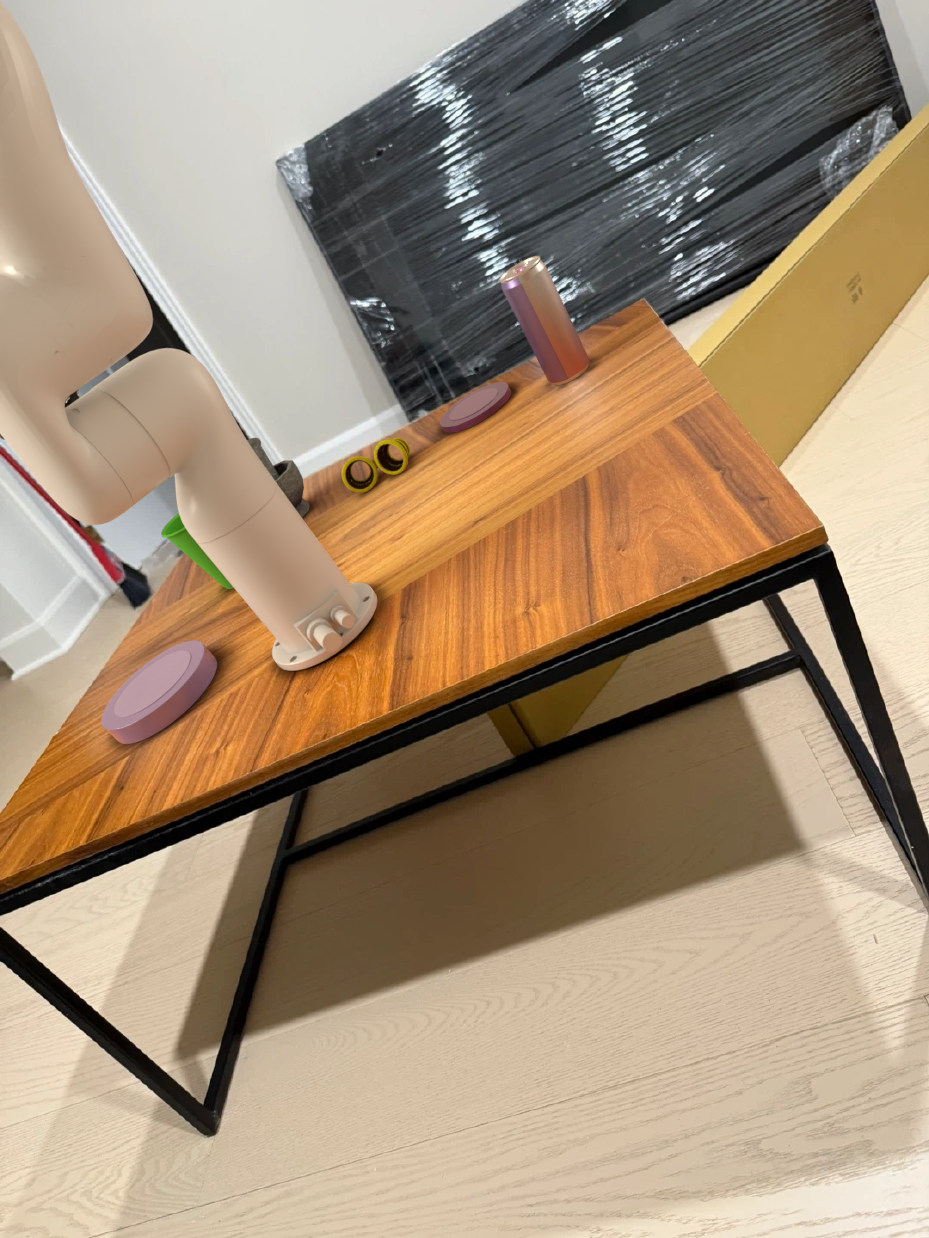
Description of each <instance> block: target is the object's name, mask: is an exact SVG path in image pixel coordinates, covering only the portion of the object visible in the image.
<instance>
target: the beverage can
mask: <svg viewBox="0 0 929 1238" xmlns="http://www.w3.org/2000/svg"><path fill="white" fill-rule="evenodd" d="M498 281H499V283H500V285H501V290H502V292H503V294H504V296H505V298H506V300H507V302H508V303H509V304H508V305H509V306H510V309H511V310H512V312H513V314H514V316H515V319H516V320H517V322H518V324H519V326H520V328H521V331H522V333H523V334H524V336H525V338H526V340H527V342H528V344H529V347H530V348H531V350H532V352H533V354H534V356H535V358H536V360H537V362H538V364H539V366H540V368H541V369H542V372H543V374H544V376H545V378H546V380H547V381H548V383H550V384H552V385H554V386H562V385H566V384H568V383H570V382H572V381H574V380H575V379H577V378H579V377H580V376H581V375H583V374H584V373H585V372H586V371H587V370H588V369H589V366H590V358H589V355H588V352H587V351H586V349H585V347H584V345H583V342H582V340H581V338H580V336H579V334H578V331H577V329H576V327H575V325H574V323H573V321H572V318H571V317H570V314H569V312H568V311H567V307H566V306H565V304H564V301H563V299H562V298H561V295H560V293H559V291H558V289H557V287H556V284H555V282H554V280H553V278H552V276H551V274H550V272H549V270H548V267H547V266H546V263H545V262H543V261H542V259H541V256H539V255H534V256H530V257H528V258H526V259H523V260H522V261H520V262H518V263H516V264H515V265H513V266H512V267H511V268H509V269H508V270H506V271H505V272H504V273H503V274H501V276H500V277H499V279H498Z"/></svg>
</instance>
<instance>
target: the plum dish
mask: <svg viewBox="0 0 929 1238" xmlns="http://www.w3.org/2000/svg"><path fill="white" fill-rule="evenodd" d="M511 395H512V390H511V388H510V385H508V383H507V382H505V381H498V382H492V383H489V384H486V385H483V386H482V387H480V388H478V389H475V390H474V391H472V392H470V393H468V394H466V395H465V396H463V397H462V398H461V399H459V400H457V401H456V402H455V403H453V404H452V405H451V406H450V407H449V408H448V409H447V410H446V411H445V412H444V414H443V415H442V416H441V417H440V420H439V426H440V428H441V429H442V430H443V432H444V433H447V434H454V433H458V432H462V431H464V430H467V429H470V428H472V427H474V426H476V425H479V424H480V423H481V422H483V421H485V420H486V419H488V418H489V417H491V416H493V415H494V414H495V413H496V412H497V411H499V410H500V409H502V407H503V406H504V405H505V404H506V403H507V402H508V401H509V399H510V397H511Z"/></svg>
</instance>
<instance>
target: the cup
mask: <svg viewBox="0 0 929 1238" xmlns="http://www.w3.org/2000/svg"><path fill="white" fill-rule="evenodd" d="M160 533H161V537H162V538H164V539H165V538H166V539H168V540H169V541H170V542H171V543H172V544H173V545H174V546H176V547H177V548H178V549H179V550H180V551H181V552H182V553H184V554H185V555H186V556H187V557H188V558H190V559H191V560H192V562H194V563H195V564H196V565H198V567H200V568H201V569H202V570H203V571H205V573H207V574H208V575H209V576H210V577H211V578H212V579H214V581H216V582H217V583H218V584H219V585H220V586H222V587H223V588H225V589H227V590H232V589H234V587H233V586H232V585H231V584H230V582H229V581H228V580H227V579H226V578H225V576H224V575H223V574H222V573H221V572H220V570H219V569H218V568H217V567H216V565H215V564H214V563H213V562H212V561H211V559H210V558H209V557H208V556H207V555H206V553H205V552H204V551H203V550H202V549H201V547H200V546H199V545H198V544H197V542H196V541H195V540H194V539H193V537H192V536H191V535H190V534H189V532H188V531H187V530H186V528H185V526H184V524H183V523H182V520H181V518H180V515H179V512H178V513H177V514H175V515H174V516H173V517H172V518H171V519H170V520H169V521H168V522H167V523H166V524H165V525H164V526H163V528H162V530H161V532H160Z"/></svg>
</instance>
